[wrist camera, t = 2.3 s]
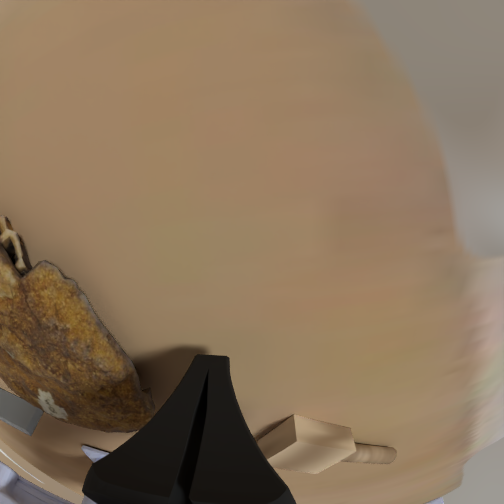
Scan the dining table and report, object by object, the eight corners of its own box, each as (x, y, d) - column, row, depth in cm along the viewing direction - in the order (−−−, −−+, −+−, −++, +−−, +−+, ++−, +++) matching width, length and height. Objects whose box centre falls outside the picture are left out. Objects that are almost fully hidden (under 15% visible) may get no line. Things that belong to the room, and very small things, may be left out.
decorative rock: (-40, 252, 11) (81, 403, 17) (-76, 282, 8) (63, 443, 14) (22, 152, 9) (191, 388, 15) (-46, 178, 5) (178, 450, 11)
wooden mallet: (404, 436, 17) (411, 454, 16) (370, 459, 19) (375, 476, 17) (293, 414, 15) (296, 441, 13) (257, 440, 16) (257, 464, 14)
